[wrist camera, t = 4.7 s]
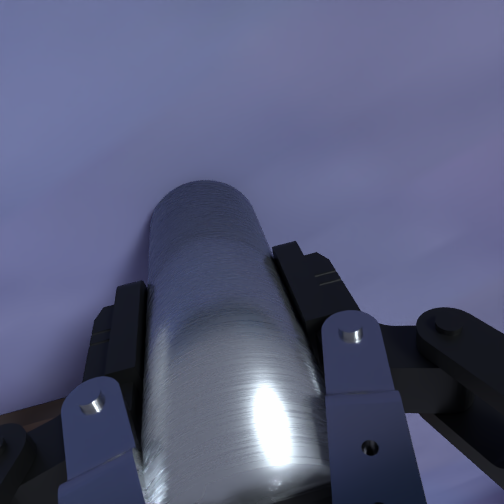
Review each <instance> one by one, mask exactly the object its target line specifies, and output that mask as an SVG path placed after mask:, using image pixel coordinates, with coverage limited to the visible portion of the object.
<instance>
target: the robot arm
mask: <svg viewBox="0 0 504 504" xmlns="http://www.w3.org/2000/svg"><path fill="white" fill-rule="evenodd" d="M272 251H273V256H274V259H275V262H276V264H277V267H278V269H279V271H280V274H281V276H282V278H283V281H284V283H285V285H286V288H287V290H288V293H289V295H290V297H291V300H292V302H293V304H294V307H295V309H296V312H297V314H298V316H299V319H300V321H301V323H302V326H303V328H304V330H305V333H306V335H307V338H308V340H309V342H310V344H311V347H312V349H313V351H314V354H315V356H316V358H317V361H318V363H319V365H320V368H321V370H322V372H323V375H324V377H325V386H326V394H325V405H326V419H327V433H328V447H329V462H330V476H331V487H327V488H324V489H320V490H317V491H313V492H310V493H307V494H303V495H300V496H296V497H293V498H289V499H286V500H282V501H279V502H276V503H272V504H427V502H426V498H425V494H424V490H423V486H422V481H421V477H420V473H419V469H418V465H417V461H416V457H415V453H414V449H413V445H412V441H411V436H410V432H409V428H408V424H407V420H406V416H405V413H419V414H420V416H421V417H422V418H423V419H424V420H425V421H427V422H428V423H429V424H430V425H431V426H432V427H433V428H435V429H436V430H437V431H438V432H439V433H440V434H441V435H442V436H444V437H445V438H446V439H447V440H448V441H449V442H450V443H451V444H453V445H454V446H455V447H456V448H457V449H458V450H459V451H461V452H462V453H463V454H464V455H465V456H466V457H467V458H468V459H470V460H471V461H472V462H473V463H474V464H475V465H476V466H477V467H479V468H480V469H481V470H482V471H483V472H484V473H485V474H487V475H488V476H489V477H490V478H491V479H492V480H493V481H494V482H496V483H497V484H498V485H499V486H500V487H501V488H502V489H503V490H504V334H503V333H501V332H500V331H498V330H496V329H495V328H493V327H491V326H489V325H488V324H486V323H484V322H483V321H481V320H479V319H477V318H476V317H474V316H472V315H471V314H469V313H467V312H465V311H462V310H459V309H455V308H447V307H442V308H434V309H431V310H428V311H426V312H424V313H423V314H422V315H421V316H420V317H419V318H418V320H417V323H416V326H389V325H383V324H379V323H378V322H377V320H376V319H375V318H374V317H372V316H371V315H369V314H367V313H365V312H362V311H361V310H360V309H359V307H358V305H357V304H356V302H355V301H354V299H353V297H352V296H351V294H350V292H349V291H348V289H347V288H346V286H345V284H344V283H343V281H341V278H340V276H339V275H338V273H337V272H336V271H335V268H334V267H333V265H332V264H331V262H330V260H329V259H327V258H326V257H324V256H322V255H321V254H319V253H317V252H316V253H312V254H308V255H303V253H302V251H301V249H300V247H299V246H298V244H297V242H296V241H293V242H289V243H285V244H282V245H278V246H274V247H272ZM146 310H147V287H146V285H145V283H144V282H143V281H142V280H141V281H137V282H133V283H130V284H126V285H122V286H118V287H117V289H116V296H115V303H114V305H111V306H107V307H104V308H103V309H102V310H101V312H100V313H99V315H98V316H97V318H96V319H95V320H94V325H93V330H92V336H91V340H90V347H89V350H88V355H87V360H86V366H85V371H84V376H83V381H82V383H81V384H80V385H78V386H77V387H76V388H75V389H73V390H72V391H71V392H70V393H69V395H68V396H67V397H66V399H65V400H64V402H63V405H62V408H61V414H60V415H58V416H57V417H55V418H53V419H52V420H50V421H48V422H46V423H44V424H42V425H41V426H39V427H37V428H35V429H33V430H31V431H29V432H26V431H25V429H24V428H23V427H22V426H21V425H19V424H16V423H7V424H3V425H0V504H149V499H148V494H147V489H146V484H145V478H144V472H143V466H142V458H141V428H142V404H143V381H144V357H145V334H146Z"/></svg>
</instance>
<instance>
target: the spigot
mask: <svg viewBox="0 0 504 504" xmlns="http://www.w3.org/2000/svg"><path fill="white" fill-rule="evenodd" d="M325 394H326V386H325V377H324V375H323V372H322V370H321V368H320V365H319V363H318V361H317V358H316V356H315V354H314V351H313V349H312V347H311V344H310V342H309V340H308V338H307V335H306V333H305V330H304V328H303V326H302V323H301V321H300V319H299V316H298V314H297V312H296V309H295V307H294V304H293V302H292V300H291V297H290V295H289V293H288V290H287V288H286V285H285V283H284V281H283V278H282V276H281V274H280V271H279V269H278V267H277V264H276V262H275V259H274V257H273V254H272V252H271V250H270V247H269V245H268V242H267V240H266V238H265V235H264V233H263V231H262V228H261V226H260V224H259V221H258V219H257V216H256V214H255V212H254V209H253V207H252V205H251V204H250V202H249V201H248V199H247V198H246V197H245V196H244V195H243V194H242V193H241V192H240V191H238V190H237V189H235V188H234V187H232V186H229V185H227V184H224V183H221V182H217V181H210V180H201V181H194V182H189V183H186V184H183V185H181V186H179V187H177V188H175V189H174V190H172V191H170V192H169V193H168V194H167V195H166V196H165V197H164V198H163V199H162V200H161V201H160V202H159V204H158V205H157V206H156V208H155V210H154V212H153V215H152V218H151V223H150V240H149V263H148V287H147V310H146V334H145V357H144V381H143V404H142V428H141V458H142V466H143V472H144V478H145V484H146V489H147V494H148V499H149V504H272V503H276V502H279V501H282V500H286V499H289V498H293V497H296V496H300V495H303V494H307V493H310V492H313V491H317V490H320V489H324V488H327V487H331V476H330V462H329V447H328V433H327V419H326V405H325Z"/></svg>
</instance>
